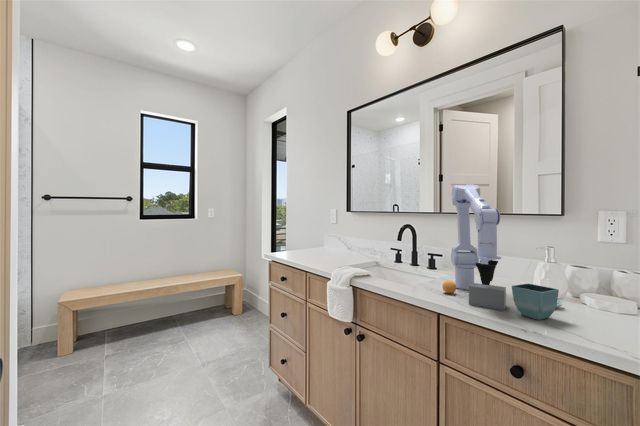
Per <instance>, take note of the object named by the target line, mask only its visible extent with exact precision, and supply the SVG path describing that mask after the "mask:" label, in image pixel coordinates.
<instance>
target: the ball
mask: <svg viewBox="0 0 640 426" xmlns="http://www.w3.org/2000/svg"><path fill="white" fill-rule="evenodd" d="M442 290H443V291H444V293H446V294H454V293H455V292H456V291H457V288H456V285H455V282H454V281H452V280H445V281H444V282H443V283H442Z"/></svg>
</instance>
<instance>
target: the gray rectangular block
mask: <svg viewBox="0 0 640 426" xmlns="http://www.w3.org/2000/svg"><path fill="white" fill-rule="evenodd" d="M469 304H472V305H471V306H475V305H478V306H477V307H481V306H483V307H482V308H487V307H488V309H492V308H493V309H494V310H499V311H505V310H506V307H507V287H506V286H500V285H491V284H490V285H483V284H482V283H476V282H474V283H471V284H470V285H469V290H468V305H469Z"/></svg>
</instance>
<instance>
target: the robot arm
mask: <svg viewBox="0 0 640 426" xmlns="http://www.w3.org/2000/svg"><path fill="white" fill-rule="evenodd" d="M451 202H452V206H455V208H456V218H457V242H458V243H457V244H455V245H454V246H453V247H452V248H451V255H450V262H451V265H452V266H454V268H455V269H454V270H455V272H454V273H455V274H454V279H455V280H454V281H455V282H454V283H455V285H456V289H460V290H466V291H469V285H470V284H471V283H475V268H476V269H477V270H478V273H479V277H480V282H481V284H483V285H491V284H490V283H491V282H493V279H494V275H495V270H496V267H497V265H498V264H499V261H498V260H501V259H502V256H498V227H497V226H498V225H500V221H501V213H500V210H499V209H498V208H495V207H492V206H491V205H490V204H489V202H488V201H487V200H486V199H485V198H484V197H481V188H480V186H479V185H478V184H475V185H457V184H456V185H454V186H453V187H452V189H451ZM470 209H471V211H472V212H473V213H474V214H473V215H474V223H475V228H476V229H475V230H477V248H476V247H475V246H474V245H472V244H471V228H470V227H471V226H470V225H471V222H470V221H471V220H470Z"/></svg>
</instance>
